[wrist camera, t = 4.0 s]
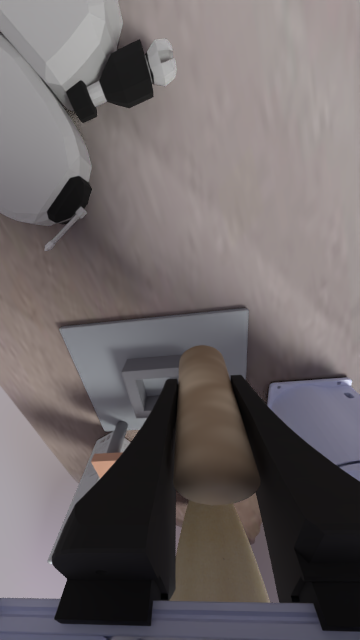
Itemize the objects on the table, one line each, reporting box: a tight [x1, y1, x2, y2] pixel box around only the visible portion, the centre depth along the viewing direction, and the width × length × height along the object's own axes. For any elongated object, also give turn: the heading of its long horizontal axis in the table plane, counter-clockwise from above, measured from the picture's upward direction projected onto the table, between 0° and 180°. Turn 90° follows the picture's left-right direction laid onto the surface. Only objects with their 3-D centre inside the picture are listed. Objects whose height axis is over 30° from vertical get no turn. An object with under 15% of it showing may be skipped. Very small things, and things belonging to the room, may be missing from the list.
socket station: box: [59, 308, 249, 478], centre depth 21 cm, size 20×17×7 cm
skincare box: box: [48, 431, 131, 564], centre depth 24 cm, size 6×4×12 cm
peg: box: [173, 345, 260, 505], centre depth 10 cm, size 3×3×7 cm
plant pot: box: [169, 500, 270, 603], centre depth 29 cm, size 15×15×16 cm
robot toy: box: [0, 0, 177, 251], centre depth 12 cm, size 12×4×15 cm
